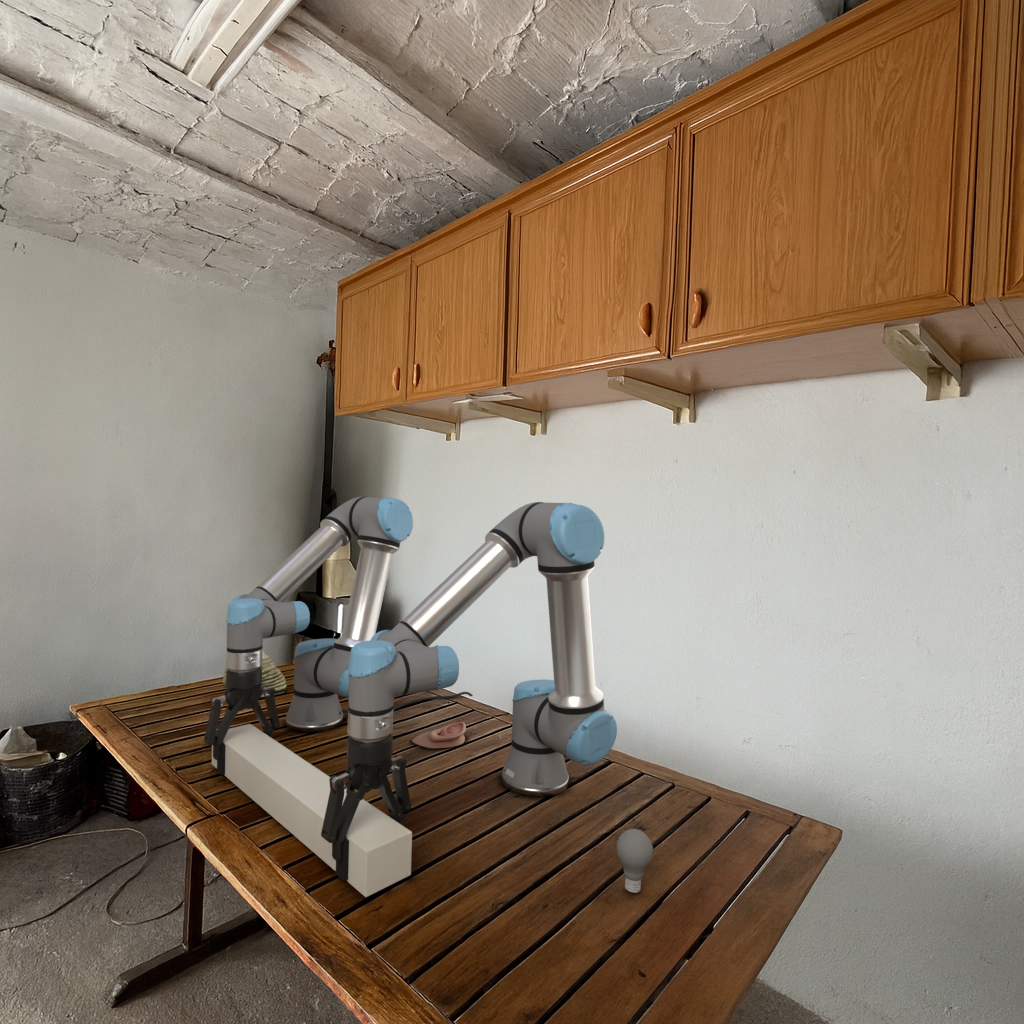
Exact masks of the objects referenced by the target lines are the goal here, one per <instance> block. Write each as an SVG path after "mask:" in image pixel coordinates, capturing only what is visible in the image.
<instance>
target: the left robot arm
mask: <svg viewBox="0 0 1024 1024" xmlns="http://www.w3.org/2000/svg"><path fill="white" fill-rule="evenodd" d="M319 525H320V527H319V528H318V529H317V530H316V531H314V533H312V534H311V536H310V537H308V538H307V539H306V540H305V541H304V542H303V543H302V544H301V545H300V546H299V547H298V548H296V550H294V551H293V552H292V553H291V554H290V555H289V556H287V558H286V559H285V560H284V561H283V562H281V564H279V566H278V567H276V568H275V569H274V570H273V571H272V572H271V573H270V574H269V575H268V576H267V577H266V578H265V579H263V580H262V581H261V582H260V583H259V584H258V585H257V586H255V588H254V589H253V590H251V592H249V593H248V594H247V593H246V594H245V593H244V594H239V595H237V596H235V597H234V598H232V599H231V601H230V602H229V603H228V605H227V611H226V621H225V622H226V655H225V657H226V659H225V668H226V667H227V668H228V670H227V671H226V688H225V692H224V694H223V695H220V696H218V697H216V696H212V697H211V698H210V707H211V709H210V713H209V716H208V717H209V718H208V720H207V724H206V729H205V733H204V738H203V742H205V743H206V744H207V745H209V746H212V745H213V757H214V759H215V760H217V768H216V772H218V774H219V775H221V776H225V775H224V774H225V750H226V745H225V744H224V743H222V742H223V740H224V738H225V736H226V734H227V732H228V730H229V729H230V728H231V726H232V723H233V721H234V719H235V717H236V716H237V715H238V713H239V712H242V711H244V710H252V711H253V713H254V715H255V717H256V719H257V721H258V722H259V724H260V726H261V729H262V730H261V731H262V732H263V733H265V734H266V735H268V736H269V737H271V738H272V734H273V733H274V732H275V729H279V728H280V727H281V724H280V719H279V714H278V709H277V705H276V700H275V699H276V698H275V696H276V695H275V689H274V688H272V687H271V686H267V687H265V688H263V687H262V685H261V683H262V668H261V667H260V666H261V665H262V649H263V645H264V640H265V639H270V638H275V637H276V638H277V637H280V636H287V635H295V634H297V633H300V632H303V631H305V630H306V629H307V628H308V627H309V624H310V623H311V622H310V621H311V618H310V616H311V613H310V610H309V607H308V605H307V604H306V603H305V602H303V601H301V600H297V601H293V600H291V601H288V602H285V601H286V600H287V599H288V598H289V597H290V596H291V595H292V594H293V593H294V592H295V591H296V590H297V589H298V588H299V587H300V586H301V585H302V584H304V582H306V580H308V579H309V577H311V576H312V575H313V574H314V572H316V571H317V570H318V569H319V568H320V567H321V566H322V565H323V564H324V563H325V562H326V561H327V560H328V559H330V557H331V556H332V555H333V554H334V553H335V552H336V551H337V550H338V549H339V548H340V547H346V546H348V545H349V543H351V542H352V541H353V540H356V539H357V540H356V542H357V544H358V546H359V548H360V552H359V556H358V560H357V565H356V569H355V574H354V579H353V583H352V587H351V593H350V597H349V602H348V606H347V610H346V615H345V620H344V624H343V629H342V633H341V636H339V637H338V638H331V637H329V638H317V639H316V638H315V639H308V640H304V641H300V642H299V643H298V644H297V645H296V646H295V650H294V651H295V652H294V655H293V658H294V670H293V671H294V672H293V695H292V696H293V697H292V699H291V702H290V703H289V705H288V711H287V713H286V715H285V726H286V728H287V729H289V730H291V731H294V732H295V731H296V732H301V733H316V732H325V731H329V730H332V729H335V728H337V727H339V726H340V725H342V723H343V722H344V714H348V709H346V710H345V709H342V706H341V702H340V699H339V695H340V696H341V697H343V698H346V699H349V674H348V669H349V660H350V653H351V649H352V647H353V646H354V645H356V644H357V643H360V642H363V641H370V640H371V638H372V637H373V636H374V635H375V634H376V633H377V627H378V624H379V619H380V614H381V609H382V604H383V599H384V597H385V596H384V595H385V591H386V586H387V582H388V577H389V571H390V567H391V562H392V557H393V555H394V554H395V553H396V552H398V551H399V550H400V546H401V542H404V541H405V540H407V539H408V538H409V537H410V536H411V534H412V531H413V528H414V516H413V514H412V511H411V509H410V507H409V506H408V504H407V503H406V502H404V501H403V500H401V499H398V498H393V497H388V496H387V497H382V496H381V497H379V496H357V497H353V498H351V499H348V500H347V501H345V502H344V503H342V504H341V505H339V506H338V507H336V508H335V509H334V510H332V511H331V512H330V513H329V514H328V515H327V516H326V517H324V518H323V519H322V520H321V521H320V524H319ZM262 694H263V695H264V696H265V697H264V700H265V705H266V709H267V715H268V717H267V716H266V714H265V712H264V710H263V709H262V706H261V704H260V702H259V700H260V698H262V697H261V695H262ZM462 695H467V696H469V697H473V696H474V695H473V694H472V693H471V692H469V691H461V692H458V693H456V694H453V695H437V696H436V695H435V696H426V697H420V698H416V699H413V700H410V701H407V702H403V703H400V704H398V705H396V706H394V709H393V711H395V710H398V709H400V708H403V707H405V706H408V705H411V704H414V703H418V702H422V701H427V700H441V699H442V700H443V699H454V698H457V697H460V696H462ZM225 702H226V703H227V706H226V707H225V713H224V715H223V716H222V719H221V721H220V717H221V713H222V708H223V706H224V703H225ZM268 719H269V720H268ZM219 721H220V723H219Z"/></svg>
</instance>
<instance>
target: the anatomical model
mask: <svg viewBox="0 0 1024 1024" xmlns="http://www.w3.org/2000/svg"><path fill="white" fill-rule="evenodd" d="M466 731H467V725H466V723H465V722H463V721H459V722H454V723H450V724H447V725H444V726H442V727H439V728H436V729H434V730H433V729H432V730H429V731H425V732H422V733H420V734H418V735H417V736H415V737H413V738H412V740H411V742H412V743H413V744H414V745H416V746H417V745H418V746H420V747H424V748H427V749H443V748H444V749H446V748H454V747H458V746H460V745H463V744H464V742H465V741H466V738H465V735H464V734H465V733H466Z"/></svg>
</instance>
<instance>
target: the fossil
mask: <svg viewBox="0 0 1024 1024" xmlns="http://www.w3.org/2000/svg"><path fill="white" fill-rule="evenodd" d="M260 667H261V668H262V683H261V685H262V687H263V688H265V687H267V686H271V687H272V688H274V689H275V696H276V695H281V694H284V693H285V691H286V689H287V687H288V686H287V680H286V678H285V676H284V674H283V673H282V672H281V669H279V668H278V667H277V665H276V663H275V662H274V660H273V659H272V658H271V657H270V656H269V655H268V654H267V653H266V652H265V650H264V649H263V648H262V665H261V666H260ZM227 670H228V668H227V667H226V666H225V668H224V671H223V675H222V676H223V677H222V685H223V687H224V688H225V689H226V671H227ZM260 698H265V696H264V695H263V694H262V695H261V697H260Z"/></svg>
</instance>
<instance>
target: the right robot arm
mask: <svg viewBox="0 0 1024 1024" xmlns="http://www.w3.org/2000/svg"><path fill="white" fill-rule="evenodd" d="M605 537H606V536H605V530H604V526H603V523H602V521H601V519H600V517H599V516H598V514H596V512H594V511H593V509H591V507H588V506H586V505H583V504H576V503H573V502H543V501H535V502H534V501H533V502H529V503H527V504H525V505H522V506H520V507H519V508H516V509H514V511H512V512H511V513H510V514H508V515H507V516H506V517H504V518H502V520H501V521H500V522H498V523H497V524H496V525H495V526H494V527H493V528H491V530H489V531H488V532H487V533H486V534H485V536H484V543H482V544H481V545H480V546H479V547H478V548H477V549H476V550H475V551H474V552H473V553H471V555H470V556H469V557H468V558H467V559H466V560H465V561H463V562H462V564H460V565H459V566H458V567H457V568H456V569H455V570H454V571H453V572H452V573H451V574H449V576H448V577H446V578H445V580H443V581H442V582H441V583H440V584H439V585H438V586H437V587H435V589H433V590H432V592H430V594H428V595H426V597H425V598H424V599H423V600H422V601H421V602H420V603H419V604H418V605H416V607H414V609H413V610H411V612H409V613H408V614H407V615H406V616H405V617H404V618H403V619H402V620H401V621H399V623H397V624H396V625H395V626H394V627H393V628H392V629H382V630H380V631H378V632H376V633H375V635H374V636H373V637H372V638H371V640H370V641H363V642H360V643H357V644H356V645H354V646H353V647H352V649H351V653H350V660H349V669H348V674H349V698H348V706H347V707H348V708H347V710H348V713H347V730H346V731H347V732H346V733H347V735H348V737H347V742H346V760H347V767H346V769H345V772H344V773H343V774H340V775H338V776H337V775H335V774H333V775H331V776H329V777H330V779H329V782H330V794H329V799H328V804H327V808H326V813H325V818H324V822H323V827H322V832H321V836H322V837H323V838H324V839H325V840H327V841H328V842H329V843H332V857H333V859H335V860H336V871H335V875H336V876H337V878H339V879H340V880H342V881H343V882H347V881H346V880H348V868H349V840H348V839H346V838H345V837H346V835H347V832H348V830H349V827H350V825H351V822H352V820H353V817H354V815H355V812H356V810H357V807H358V805H359V802H360V801H361V800H362V799H363V800H364V797H365V795H366V794H367V793H369V792H370V791H373V790H378V791H379V794H380V796H381V798H382V800H383V803H384V804H385V806H386V808H387V809H386V810H387V811H388V813H389V814H386V815H387V816H389V817H390V818H392V819H393V820H395V821H396V822H398V823H399V824H401V825H402V821H403V820H405V818H406V814H405V813H407V812H410V811H411V809H412V803H411V797H410V792H409V787H408V780H407V773H406V769H407V759H406V758H404V757H402V756H401V755H398V754H394V756H393V746H394V745H393V744H394V743H393V741H394V736H393V734H392V733H393V730H394V710H393V709H394V707H395V697H402V696H407V695H413V694H419V693H425V692H432V691H439V690H442V689H447V688H451V687H452V686H454V685H455V684H456V682H457V681H458V678H459V677H460V676H459V675H460V661H459V658H458V655H457V653H456V651H455V650H454V649H453V647H452V646H449V645H438V644H436V645H435V646H431V645H432V644H433V643H434V642H435V641H436V640H437V639H438V638H439V637H441V635H442V634H443V633H444V632H445V631H446V630H447V629H448V628H450V626H451V625H452V624H454V623H455V622H456V621H457V620H458V619H459V618H460V617H461V616H462V615H463V614H464V613H465V612H466V611H467V610H468V609H469V608H470V607H471V606H472V605H473V604H474V603H475V602H476V601H477V600H478V599H479V598H480V597H481V596H482V595H483V594H484V593H485V592H486V591H488V589H489V588H490V587H491V586H492V585H493V584H495V582H496V581H498V579H500V577H502V575H503V574H505V572H507V571H508V570H509V568H514V569H515V568H518V566H519V565H520V564H521V563H522V562H524V561H525V560H527V559H529V558H532V557H536V559H537V570H538V571H537V572H538V573H540V575H542V576H543V577H544V578H545V580H546V594H547V604H548V618H549V619H548V620H549V632H550V645H551V647H550V648H551V657H552V659H551V660H552V671H553V679H531V680H530V679H529V680H524V681H521V682H519V683H517V684H516V685H515V687H514V688H513V689H514V690H513V697H512V715H511V717H512V719H511V720H512V722H511V745H510V749H509V752H508V754H507V757H506V760H505V763H504V766H503V767H502V770H501V782H502V784H503V786H504V787H505V788H507V789H508V790H510V791H511V792H514V793H516V794H519V795H522V796H528V797H536V798H537V797H541V798H542V797H551V796H555V795H559V794H561V793H563V792H564V791H566V790H567V789H568V787H569V777H570V776H569V772H568V769H567V765H566V760H565V757H566V758H567V759H569V760H570V761H571V762H576V763H578V764H580V765H583V766H593V765H596V764H598V763H600V762H601V761H602V760H604V759H605V758H606V757H607V755H608V754H609V753H610V751H611V749H612V748H613V746H614V744H615V742H616V739H617V735H618V724H617V720H616V718H615V716H613V715H612V713H611V712H610V711H607V710H605V700H604V693H603V691H602V690H601V689H600V688H598V687H597V686H596V674H595V673H596V672H595V663H594V661H595V660H594V645H593V629H592V616H591V602H590V601H591V600H590V586H589V575H590V574H591V573H592V571H593V570H594V569H595V568H596V567H595V561H596V560H598V558H599V557H600V555H601V553H602V552H601V550H602V549H604V546H605ZM392 756H393V757H392ZM390 771H391V774H392V775H391V776H392V780H393V785H394V786H393V787H394V791H393V789H392V785H391V782H390V780H389V778H388V775H389V772H390ZM348 782H349V783H348ZM347 783H348V786H347ZM346 788H347V790H346V794H347V795H346V798H345V800H344V802H343V799H344V790H345V789H346ZM394 792H395V793H394ZM342 804H343V805H342Z"/></svg>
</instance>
